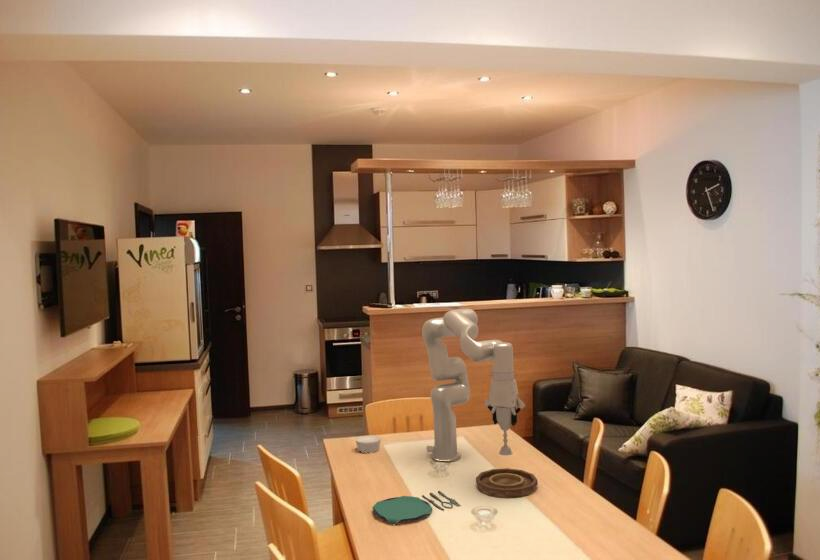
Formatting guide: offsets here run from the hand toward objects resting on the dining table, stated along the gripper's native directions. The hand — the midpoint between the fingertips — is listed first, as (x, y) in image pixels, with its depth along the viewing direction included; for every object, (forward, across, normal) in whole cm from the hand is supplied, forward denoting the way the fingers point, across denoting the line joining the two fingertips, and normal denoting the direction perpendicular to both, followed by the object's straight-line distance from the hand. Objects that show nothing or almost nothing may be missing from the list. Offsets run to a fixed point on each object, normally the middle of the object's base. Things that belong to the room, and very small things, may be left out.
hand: (504, 423), depth 237 cm
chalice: (+11, 0, 0) cm, 11 cm away
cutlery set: (+25, -23, -31) cm, 46 cm away
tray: (+24, 0, 0) cm, 24 cm away
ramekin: (+24, -71, +21) cm, 78 cm away
